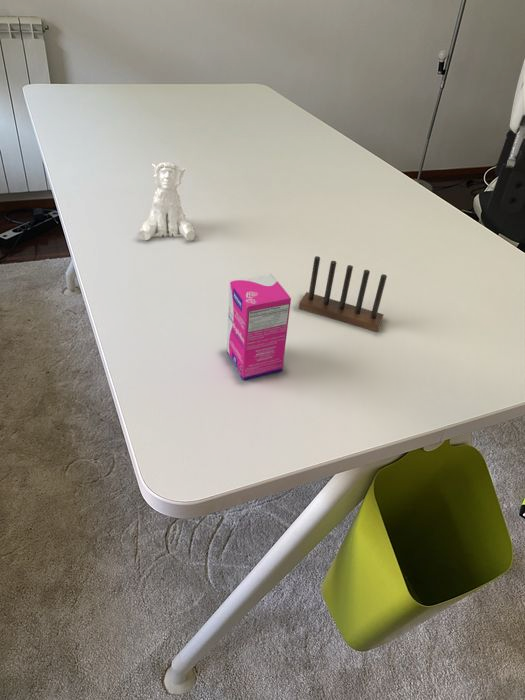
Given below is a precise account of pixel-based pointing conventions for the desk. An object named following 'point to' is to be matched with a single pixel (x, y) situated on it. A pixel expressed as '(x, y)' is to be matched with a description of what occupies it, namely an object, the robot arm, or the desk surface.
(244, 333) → the supplement box
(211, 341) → the desk surface
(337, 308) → the rack
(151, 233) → the white creature statuette
